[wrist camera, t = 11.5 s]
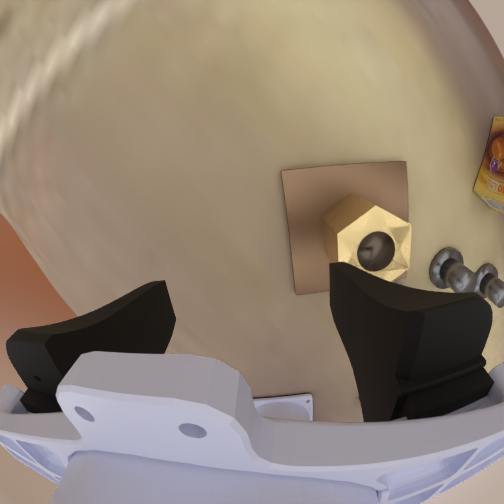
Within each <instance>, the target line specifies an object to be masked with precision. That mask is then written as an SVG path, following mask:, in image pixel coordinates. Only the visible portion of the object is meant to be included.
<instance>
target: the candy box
mask: <svg viewBox="0 0 504 504" xmlns="http://www.w3.org/2000/svg"><path fill="white" fill-rule="evenodd" d="M473 191H474V192H475V193H477V194H478V195H479V196H480V197H481V198H482V199H483V200H484V201H485V202H486V203H487V204H488V205H489V206H490V207H491V208H492V209H493V210H496V211H499V212H501V213H504V117H494V119H493V123H492V127H491V132H490V136H489V141H488V144H487V148H486V151H485V155H484V159H483V162H482V165H481V168H480V171H479V174H478V177H477V180H476V183H475V186H474V189H473Z"/></svg>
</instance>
